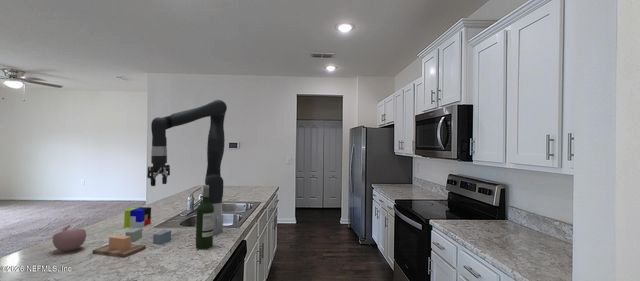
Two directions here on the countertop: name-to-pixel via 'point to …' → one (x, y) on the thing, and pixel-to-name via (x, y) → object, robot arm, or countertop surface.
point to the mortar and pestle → (69, 239)
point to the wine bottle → (204, 222)
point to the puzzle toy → (137, 217)
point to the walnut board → (119, 251)
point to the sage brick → (134, 234)
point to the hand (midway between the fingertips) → (159, 184)
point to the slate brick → (161, 237)
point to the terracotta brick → (119, 242)
